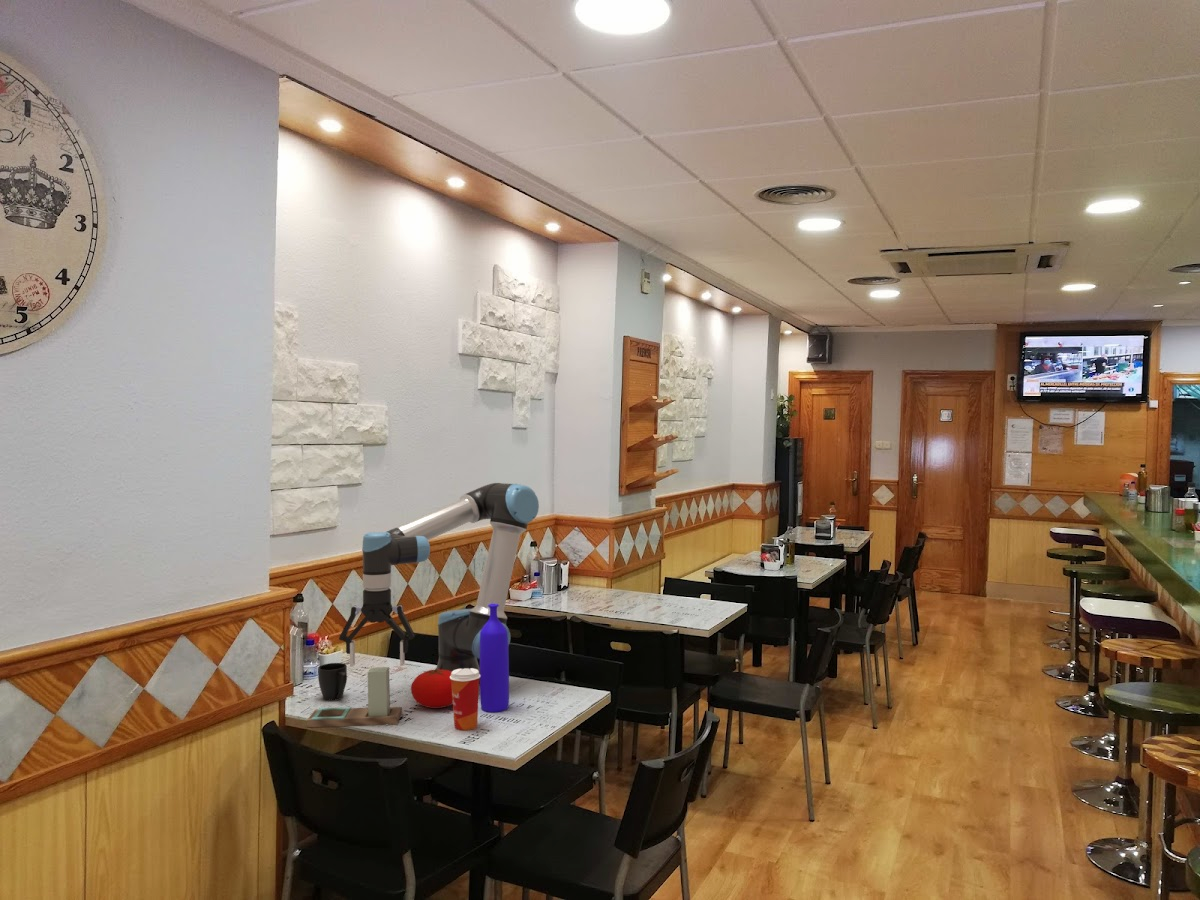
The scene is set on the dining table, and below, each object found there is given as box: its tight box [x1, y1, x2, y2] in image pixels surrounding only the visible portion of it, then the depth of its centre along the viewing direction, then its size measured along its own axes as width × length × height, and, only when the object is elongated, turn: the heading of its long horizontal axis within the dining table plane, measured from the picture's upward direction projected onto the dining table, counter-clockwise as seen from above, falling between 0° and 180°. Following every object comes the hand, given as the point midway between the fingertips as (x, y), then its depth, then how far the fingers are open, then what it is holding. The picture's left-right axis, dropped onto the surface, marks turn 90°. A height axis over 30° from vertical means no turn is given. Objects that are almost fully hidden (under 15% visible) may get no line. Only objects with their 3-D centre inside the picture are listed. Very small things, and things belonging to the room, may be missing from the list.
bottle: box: [479, 604, 510, 713], centre depth 254 cm, size 8×8×30 cm
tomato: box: [410, 668, 453, 709], centre depth 258 cm, size 14×13×10 cm
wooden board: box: [306, 706, 403, 728], centre depth 245 cm, size 24×9×2 cm, turn 94°
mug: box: [317, 662, 348, 702], centre depth 265 cm, size 8×12×10 cm
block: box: [367, 666, 391, 717], centre depth 246 cm, size 5×5×14 cm
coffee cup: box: [450, 668, 480, 731], centre depth 239 cm, size 8×8×15 cm
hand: (377, 665), depth 245 cm, fingers open, 13 cm apart
